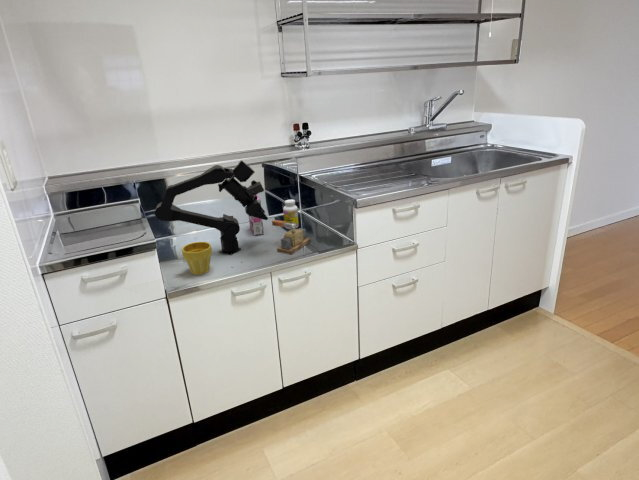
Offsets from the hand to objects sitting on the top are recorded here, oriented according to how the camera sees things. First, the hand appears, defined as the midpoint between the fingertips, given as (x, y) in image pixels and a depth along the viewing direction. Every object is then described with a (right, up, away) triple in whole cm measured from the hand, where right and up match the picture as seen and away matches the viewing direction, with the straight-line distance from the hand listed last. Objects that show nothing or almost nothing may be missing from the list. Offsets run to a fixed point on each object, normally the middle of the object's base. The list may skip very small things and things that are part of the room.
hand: (265, 215), depth 168 cm
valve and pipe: (+11, -11, +2) cm, 16 cm away
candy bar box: (-7, -6, +22) cm, 24 cm away
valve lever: (+7, -4, +2) cm, 9 cm away
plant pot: (-22, -21, -15) cm, 34 cm away
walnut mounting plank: (+12, -12, +3) cm, 17 cm away
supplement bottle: (+9, -4, +25) cm, 27 cm away
